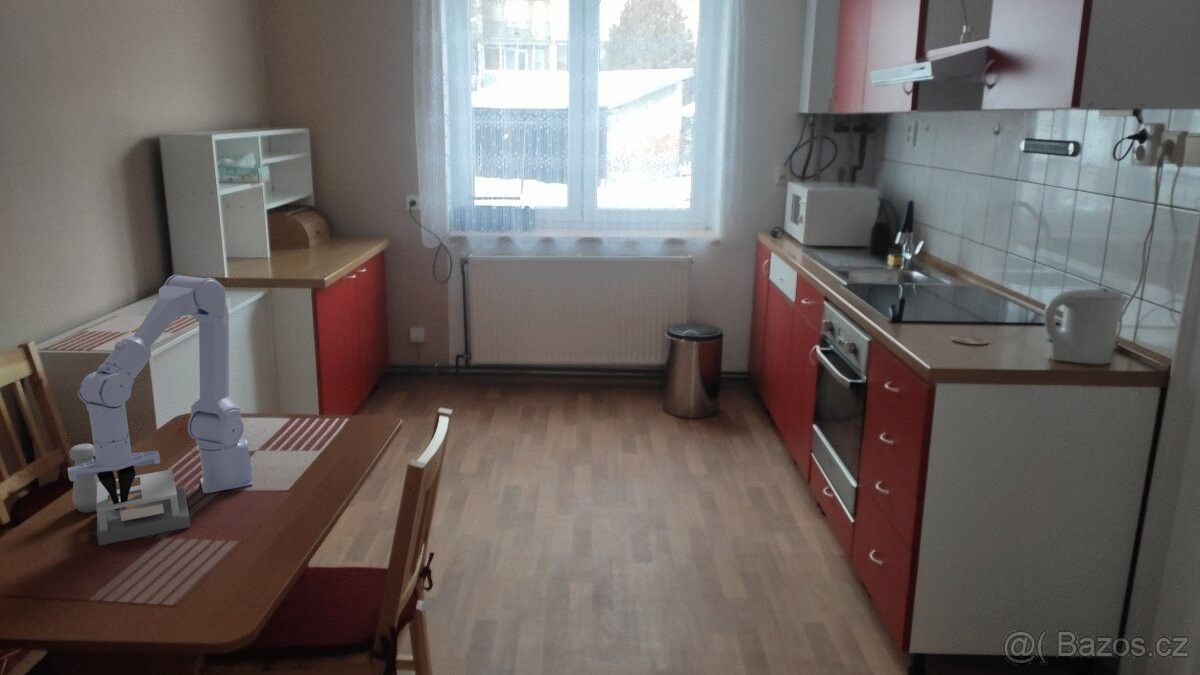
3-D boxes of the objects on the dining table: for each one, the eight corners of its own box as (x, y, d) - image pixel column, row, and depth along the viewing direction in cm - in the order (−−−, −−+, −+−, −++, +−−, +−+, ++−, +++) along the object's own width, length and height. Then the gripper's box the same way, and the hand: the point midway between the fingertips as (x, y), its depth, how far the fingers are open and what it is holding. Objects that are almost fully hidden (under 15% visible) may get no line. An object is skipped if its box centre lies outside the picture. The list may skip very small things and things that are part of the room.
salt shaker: (92, 516, 169) (82, 452, 166) (67, 513, 170) (56, 450, 167) (115, 503, 175) (105, 441, 171) (90, 500, 176) (80, 439, 173)
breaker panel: (185, 498, 177) (180, 466, 175) (190, 526, 165) (186, 493, 163) (99, 514, 170) (94, 482, 168) (98, 545, 158) (93, 510, 156)
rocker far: (160, 485, 173) (157, 477, 172) (162, 495, 169) (158, 487, 168) (122, 500, 170) (118, 491, 169) (123, 510, 166) (119, 501, 165)
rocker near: (162, 502, 167) (161, 493, 167) (164, 512, 163) (162, 503, 163) (121, 510, 164) (119, 501, 164) (121, 521, 160) (119, 511, 159)
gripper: (151, 423, 166) (159, 490, 169) (61, 439, 157) (72, 509, 161) (158, 434, 160) (167, 503, 164) (66, 451, 152) (77, 523, 155)
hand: (120, 507), depth 162 cm, fingers closed, pressing on rocker near
